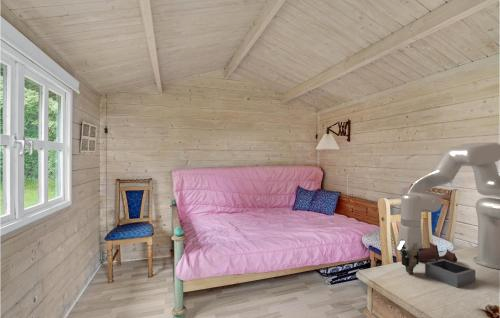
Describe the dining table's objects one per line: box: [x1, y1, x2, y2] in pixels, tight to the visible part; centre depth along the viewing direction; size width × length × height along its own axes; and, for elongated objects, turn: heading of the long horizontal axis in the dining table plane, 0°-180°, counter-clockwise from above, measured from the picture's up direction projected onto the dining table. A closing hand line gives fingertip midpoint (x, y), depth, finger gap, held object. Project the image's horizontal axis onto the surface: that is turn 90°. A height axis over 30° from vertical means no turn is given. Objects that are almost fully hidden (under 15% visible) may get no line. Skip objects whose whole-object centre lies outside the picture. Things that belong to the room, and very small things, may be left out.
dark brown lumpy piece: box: [418, 240, 458, 263], centre depth 126 cm, size 6×17×10 cm, turn 78°
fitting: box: [424, 259, 476, 289], centre depth 110 cm, size 12×12×5 cm
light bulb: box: [404, 243, 418, 275], centre depth 114 cm, size 6×6×15 cm
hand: (410, 264), depth 114 cm, fingers closed on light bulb, 5 cm apart
